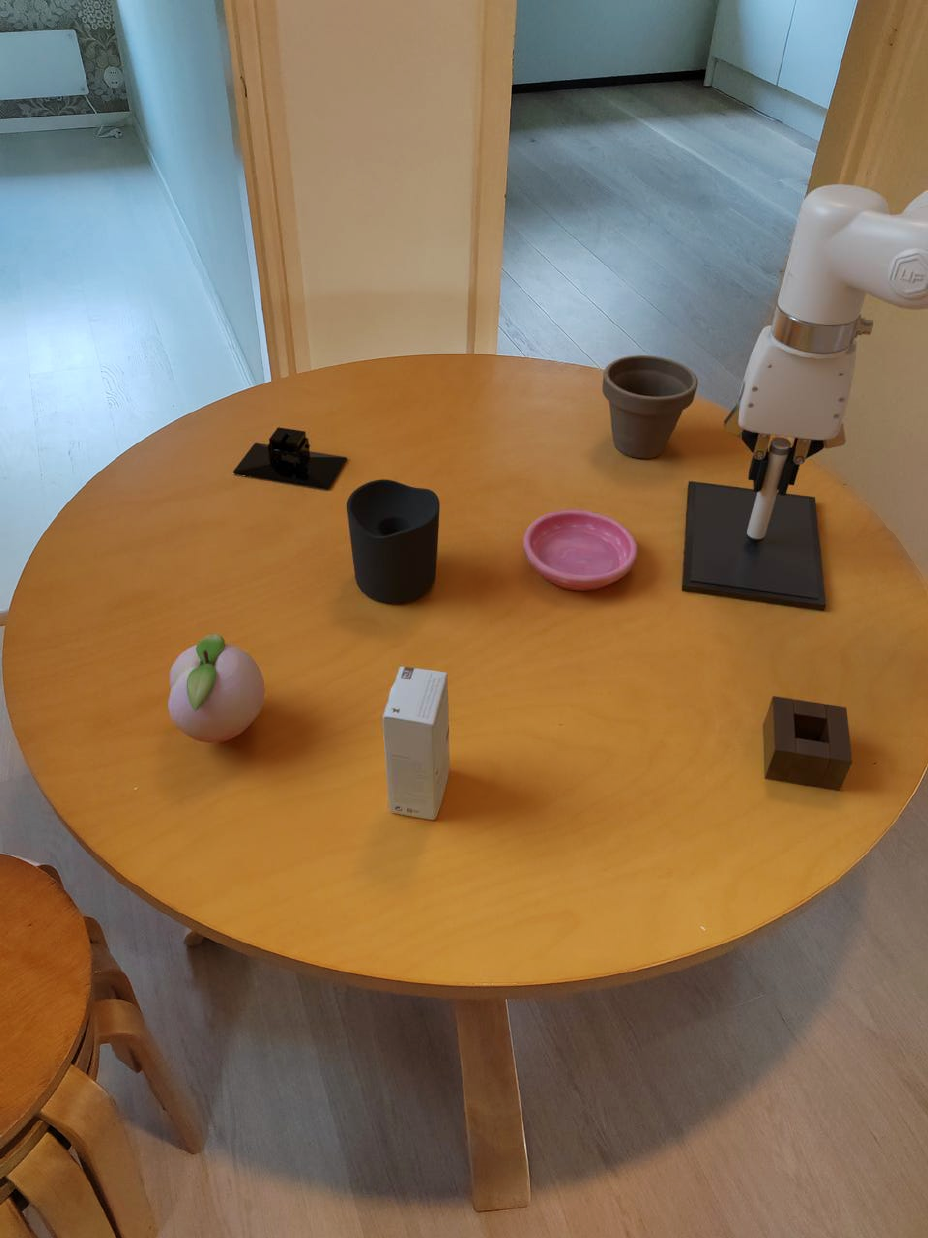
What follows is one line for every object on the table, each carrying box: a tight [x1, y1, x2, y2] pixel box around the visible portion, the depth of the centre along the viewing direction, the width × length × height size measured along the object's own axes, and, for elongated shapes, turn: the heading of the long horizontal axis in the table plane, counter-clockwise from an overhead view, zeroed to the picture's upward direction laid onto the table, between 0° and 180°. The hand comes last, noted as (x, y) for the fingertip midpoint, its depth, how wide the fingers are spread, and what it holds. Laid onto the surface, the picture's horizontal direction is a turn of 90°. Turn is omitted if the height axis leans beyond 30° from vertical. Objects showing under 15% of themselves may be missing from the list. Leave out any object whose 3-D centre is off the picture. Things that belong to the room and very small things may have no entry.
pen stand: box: [762, 695, 853, 792], centre depth 88 cm, size 6×6×4 cm
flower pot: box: [602, 354, 699, 459], centre depth 124 cm, size 12×11×10 cm
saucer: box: [522, 509, 638, 591], centre depth 108 cm, size 12×12×3 cm
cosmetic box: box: [382, 666, 451, 821], centre depth 82 cm, size 6×4×12 cm
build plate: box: [232, 426, 348, 491], centre depth 121 cm, size 12×7×5 cm, turn 76°
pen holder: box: [346, 478, 441, 605], centre depth 103 cm, size 9×9×10 cm
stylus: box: [747, 436, 792, 543], centre depth 107 cm, size 2×2×13 cm
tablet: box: [681, 480, 827, 612], centre depth 112 cm, size 15×20×1 cm
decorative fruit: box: [167, 633, 266, 744], centre depth 87 cm, size 9×8×10 cm
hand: (769, 485), depth 106 cm, fingers closed on stylus, 2 cm apart
